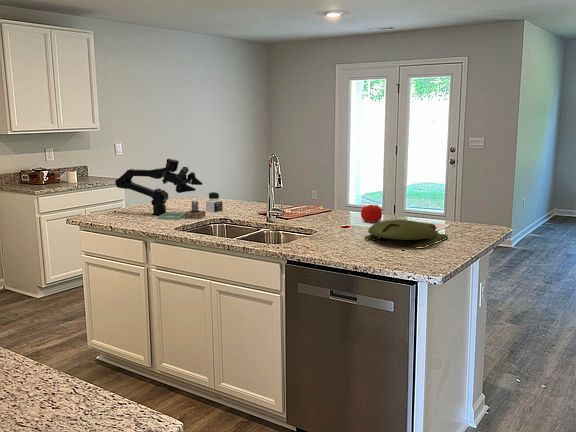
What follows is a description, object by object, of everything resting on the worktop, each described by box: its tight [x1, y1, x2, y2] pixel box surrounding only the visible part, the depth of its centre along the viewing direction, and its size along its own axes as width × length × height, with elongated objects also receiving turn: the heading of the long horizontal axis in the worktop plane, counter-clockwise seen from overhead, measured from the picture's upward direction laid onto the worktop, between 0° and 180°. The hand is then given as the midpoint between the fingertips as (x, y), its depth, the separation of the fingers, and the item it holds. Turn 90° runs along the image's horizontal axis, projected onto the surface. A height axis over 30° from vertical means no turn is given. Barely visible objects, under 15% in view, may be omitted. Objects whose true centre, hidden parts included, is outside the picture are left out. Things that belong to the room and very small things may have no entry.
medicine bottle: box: [205, 191, 224, 213], centre depth 342 cm, size 7×7×12 cm
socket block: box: [184, 209, 206, 220], centre depth 322 cm, size 9×9×4 cm
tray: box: [157, 212, 186, 221], centre depth 321 cm, size 12×12×2 cm
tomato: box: [360, 204, 383, 223], centre depth 312 cm, size 11×12×9 cm
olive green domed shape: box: [364, 219, 449, 247], centre depth 268 cm, size 35×31×10 cm
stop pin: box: [191, 200, 199, 213], centre depth 321 cm, size 4×4×9 cm
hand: (198, 186), depth 327 cm, fingers open, 9 cm apart
